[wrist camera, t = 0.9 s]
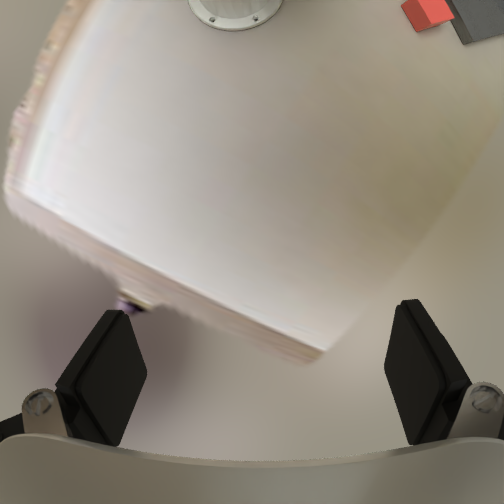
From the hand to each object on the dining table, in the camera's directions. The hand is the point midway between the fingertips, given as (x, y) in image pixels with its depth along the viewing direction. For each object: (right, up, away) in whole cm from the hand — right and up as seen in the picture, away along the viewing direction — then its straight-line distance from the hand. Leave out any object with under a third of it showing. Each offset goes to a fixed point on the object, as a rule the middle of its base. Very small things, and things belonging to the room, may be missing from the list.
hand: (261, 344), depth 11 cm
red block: (+23, +36, +20) cm, 47 cm away
